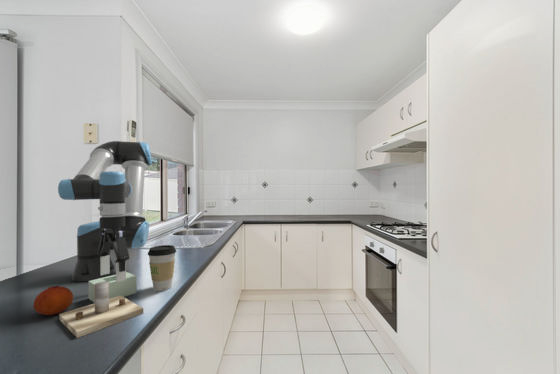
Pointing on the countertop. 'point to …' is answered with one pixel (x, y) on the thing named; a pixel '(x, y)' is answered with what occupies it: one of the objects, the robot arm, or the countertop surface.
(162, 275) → the coffee cup
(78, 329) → the post base
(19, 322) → the countertop surface
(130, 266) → the countertop surface
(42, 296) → the fruit
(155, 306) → the countertop surface
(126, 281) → the green block with window
